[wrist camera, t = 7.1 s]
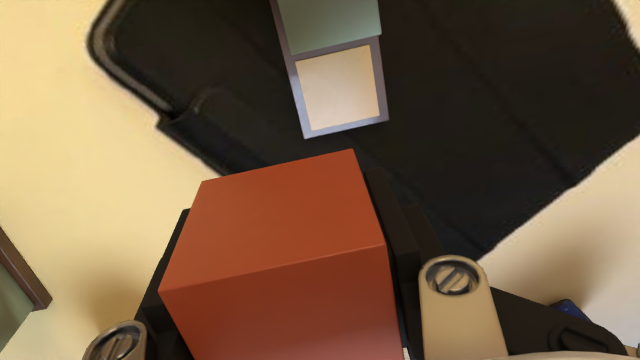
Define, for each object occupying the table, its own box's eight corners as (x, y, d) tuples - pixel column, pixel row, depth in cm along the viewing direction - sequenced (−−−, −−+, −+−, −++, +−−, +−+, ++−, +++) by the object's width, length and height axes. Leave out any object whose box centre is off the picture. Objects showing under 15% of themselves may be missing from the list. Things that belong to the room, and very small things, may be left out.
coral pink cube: (201, 180, 11) (156, 291, 8) (352, 147, 11) (386, 243, 7) (245, 292, 13) (229, 424, 10) (374, 266, 13) (409, 389, 9)
